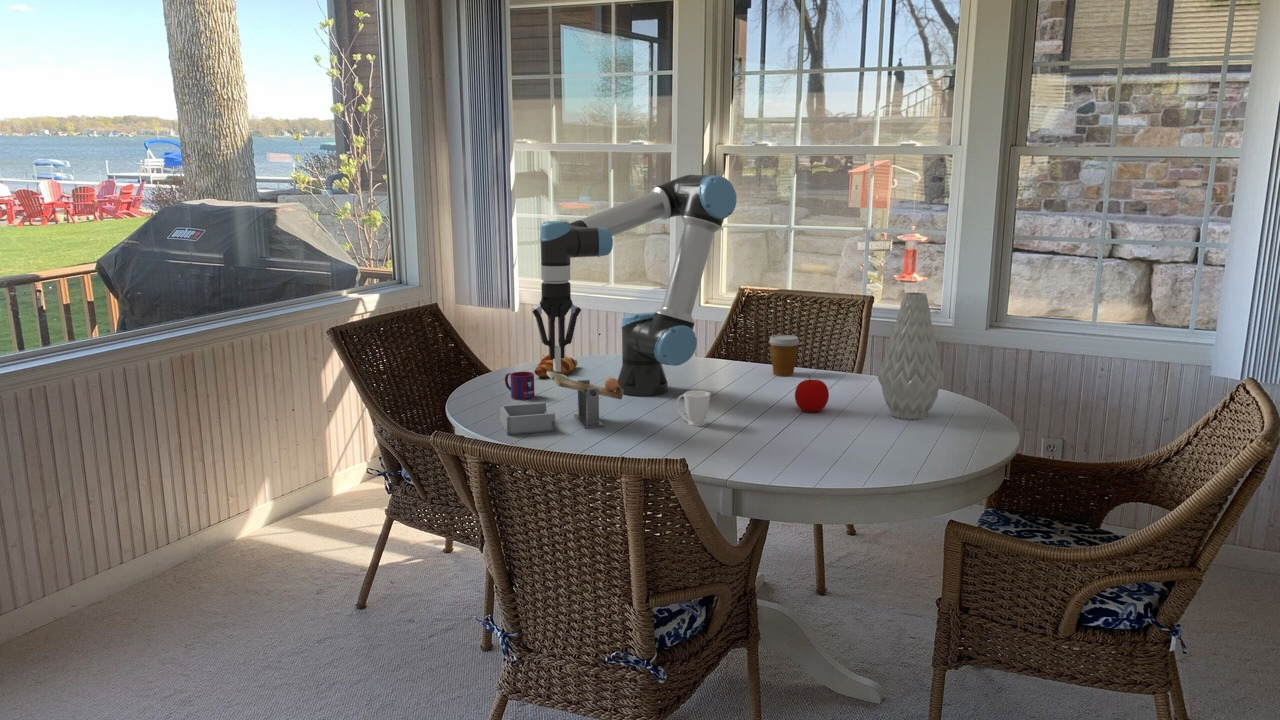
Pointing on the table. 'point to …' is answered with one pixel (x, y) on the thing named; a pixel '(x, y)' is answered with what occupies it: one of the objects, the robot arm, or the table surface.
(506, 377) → the cup
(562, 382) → the lever
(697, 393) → the cup
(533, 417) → the tray
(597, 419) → the fulcrum
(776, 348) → the disposable coffee cup
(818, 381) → the fruit
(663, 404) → the table surface
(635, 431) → the table surface
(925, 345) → the vase
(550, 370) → the croissant
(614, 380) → the ball
